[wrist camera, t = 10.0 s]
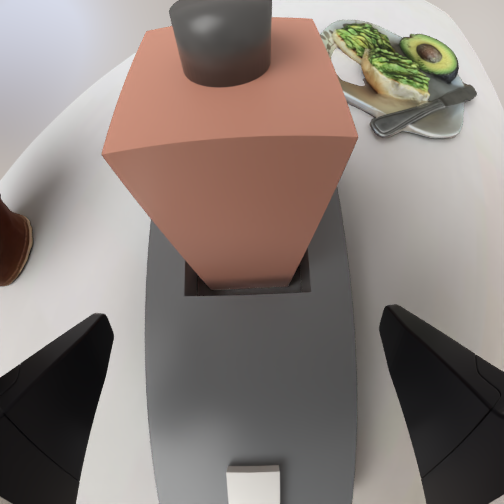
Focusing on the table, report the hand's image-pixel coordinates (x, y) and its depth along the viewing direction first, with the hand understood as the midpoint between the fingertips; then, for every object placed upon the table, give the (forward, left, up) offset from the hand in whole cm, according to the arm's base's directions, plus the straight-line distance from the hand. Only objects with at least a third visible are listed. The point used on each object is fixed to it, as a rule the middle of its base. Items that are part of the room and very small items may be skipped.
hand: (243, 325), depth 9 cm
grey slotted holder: (0, 0, -8) cm, 8 cm away
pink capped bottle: (+2, +4, -8) cm, 9 cm away
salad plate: (+24, +13, -8) cm, 29 cm away
